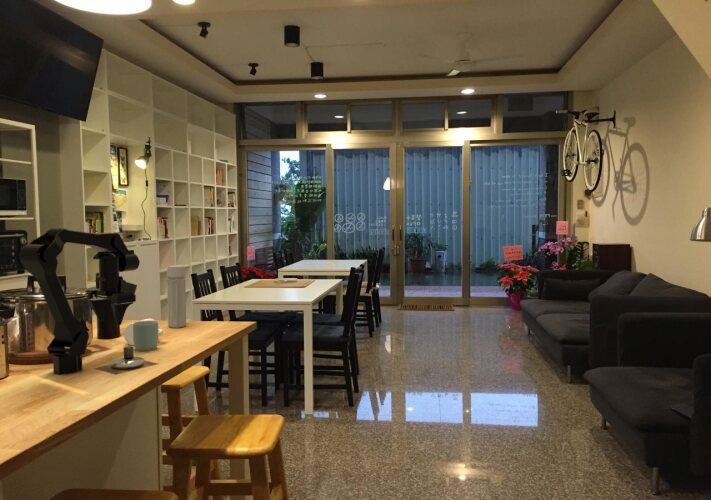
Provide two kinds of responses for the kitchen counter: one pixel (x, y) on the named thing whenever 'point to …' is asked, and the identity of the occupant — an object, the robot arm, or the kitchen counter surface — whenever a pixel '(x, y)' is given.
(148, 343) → the cup
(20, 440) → the kitchen counter surface
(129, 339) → the mug
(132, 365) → the handwheel
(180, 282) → the water bottle
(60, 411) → the kitchen counter surface
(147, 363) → the board
